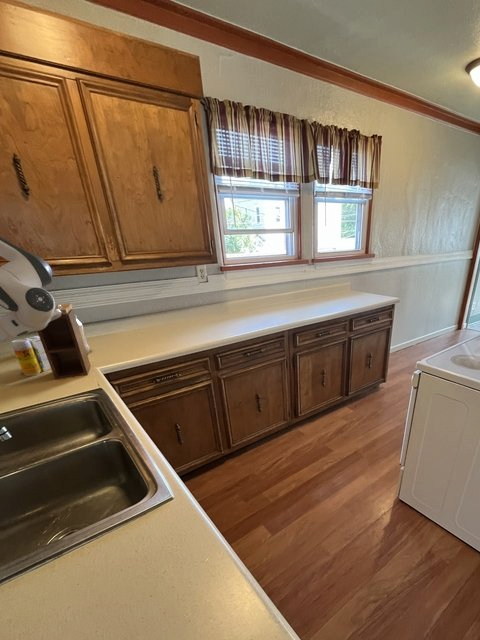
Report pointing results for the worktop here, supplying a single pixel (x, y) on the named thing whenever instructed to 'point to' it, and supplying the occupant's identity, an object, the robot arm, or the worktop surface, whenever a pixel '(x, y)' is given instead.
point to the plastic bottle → (83, 336)
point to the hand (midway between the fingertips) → (27, 329)
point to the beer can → (26, 357)
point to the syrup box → (39, 353)
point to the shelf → (65, 307)
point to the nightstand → (65, 347)
